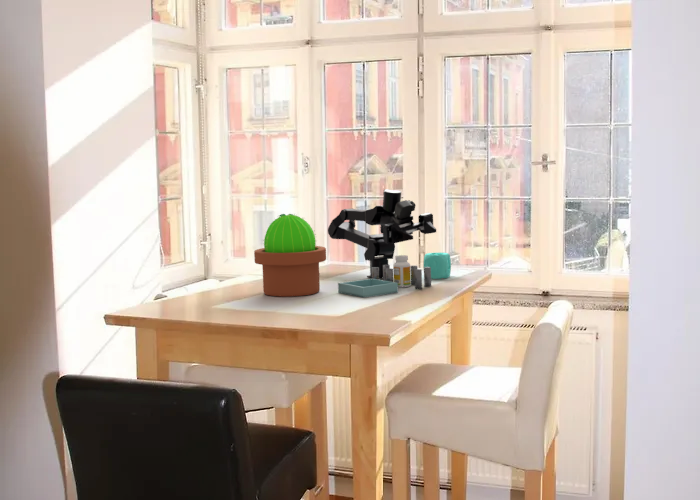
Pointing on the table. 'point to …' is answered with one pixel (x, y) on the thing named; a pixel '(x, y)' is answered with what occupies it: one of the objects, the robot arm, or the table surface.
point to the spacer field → (415, 275)
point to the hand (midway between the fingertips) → (424, 234)
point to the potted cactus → (290, 258)
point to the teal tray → (368, 287)
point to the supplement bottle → (402, 271)
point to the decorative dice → (438, 264)
